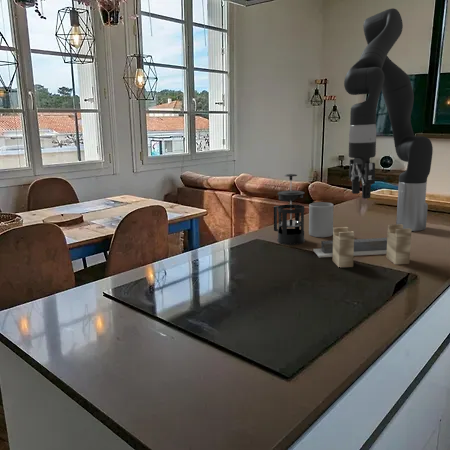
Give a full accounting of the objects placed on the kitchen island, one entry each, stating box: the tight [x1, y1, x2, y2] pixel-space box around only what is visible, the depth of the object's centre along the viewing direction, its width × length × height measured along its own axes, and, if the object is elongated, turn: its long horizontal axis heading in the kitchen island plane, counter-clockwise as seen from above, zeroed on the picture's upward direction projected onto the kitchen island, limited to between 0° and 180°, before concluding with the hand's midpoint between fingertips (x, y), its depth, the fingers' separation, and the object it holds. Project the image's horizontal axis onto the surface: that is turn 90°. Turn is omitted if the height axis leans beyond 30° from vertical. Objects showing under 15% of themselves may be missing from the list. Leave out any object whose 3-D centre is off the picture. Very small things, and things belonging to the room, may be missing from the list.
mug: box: [308, 201, 335, 238], centre depth 153 cm, size 12×8×11 cm
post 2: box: [385, 223, 412, 265], centre depth 120 cm, size 4×6×10 cm, turn 3°
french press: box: [273, 173, 306, 246], centre depth 143 cm, size 12×9×23 cm
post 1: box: [332, 226, 355, 268], centre depth 120 cm, size 4×6×10 cm, turn 3°
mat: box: [312, 248, 387, 258], centre depth 131 cm, size 26×7×1 cm, turn 93°
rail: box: [320, 237, 387, 253], centre depth 131 cm, size 22×3×3 cm, turn 93°
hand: (360, 195), depth 127 cm, fingers open, 8 cm apart
